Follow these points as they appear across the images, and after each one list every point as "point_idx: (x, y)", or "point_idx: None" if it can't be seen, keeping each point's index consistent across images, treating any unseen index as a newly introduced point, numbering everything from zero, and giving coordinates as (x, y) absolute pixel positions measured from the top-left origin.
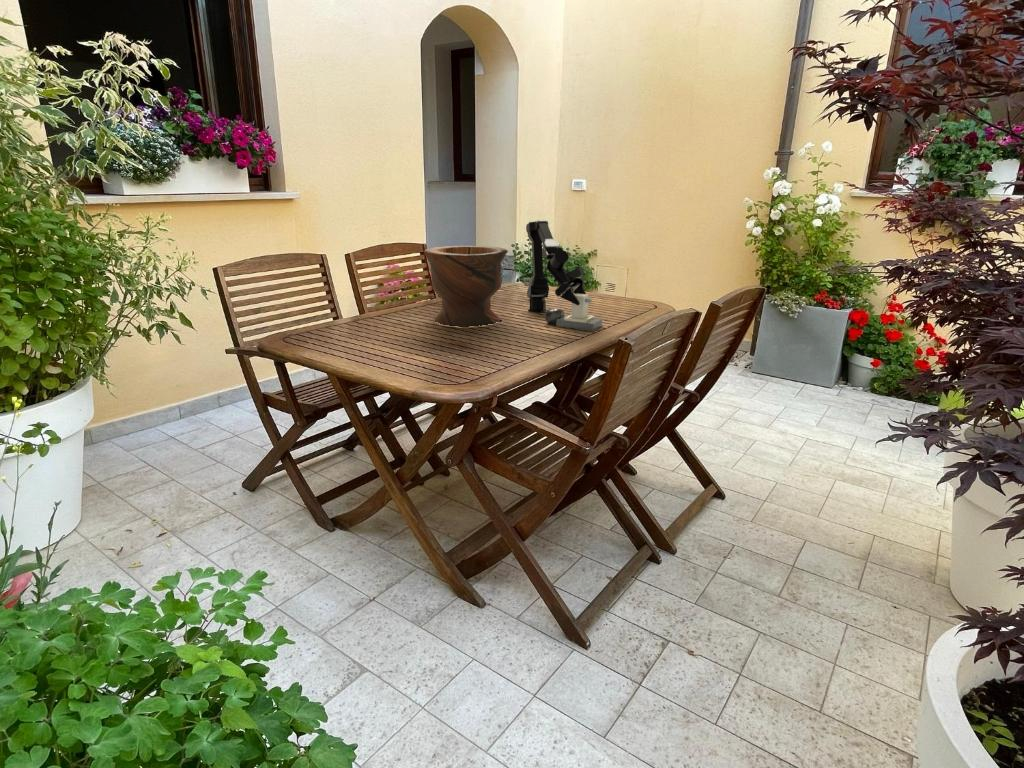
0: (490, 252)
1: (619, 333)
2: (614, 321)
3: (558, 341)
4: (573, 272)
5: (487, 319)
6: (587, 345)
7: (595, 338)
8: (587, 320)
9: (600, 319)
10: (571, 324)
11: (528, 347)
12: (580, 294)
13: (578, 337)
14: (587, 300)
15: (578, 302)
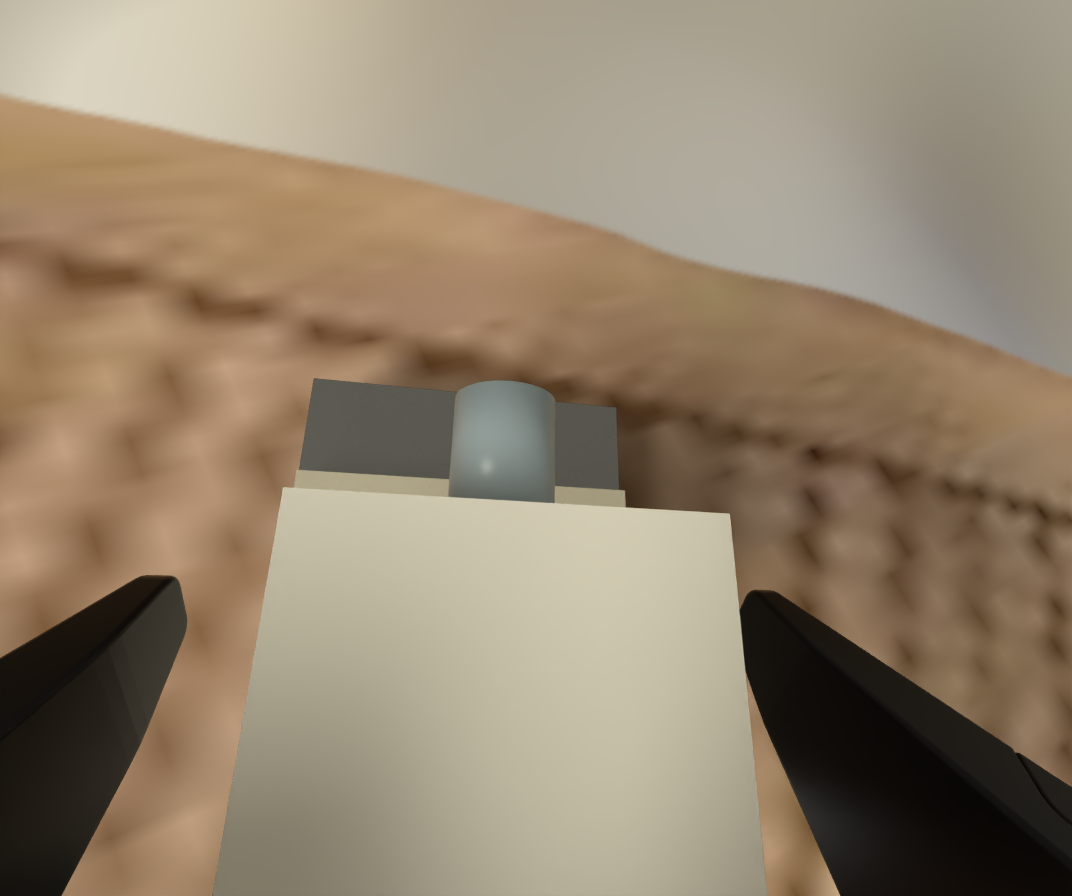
0: None
1: (545, 221)
2: (19, 335)
3: (1020, 594)
4: None
5: None
6: (958, 363)
7: (781, 357)
8: (577, 489)
9: (358, 390)
10: None
11: None
12: (429, 802)
13: (834, 488)
14: (553, 465)
15: (804, 614)
